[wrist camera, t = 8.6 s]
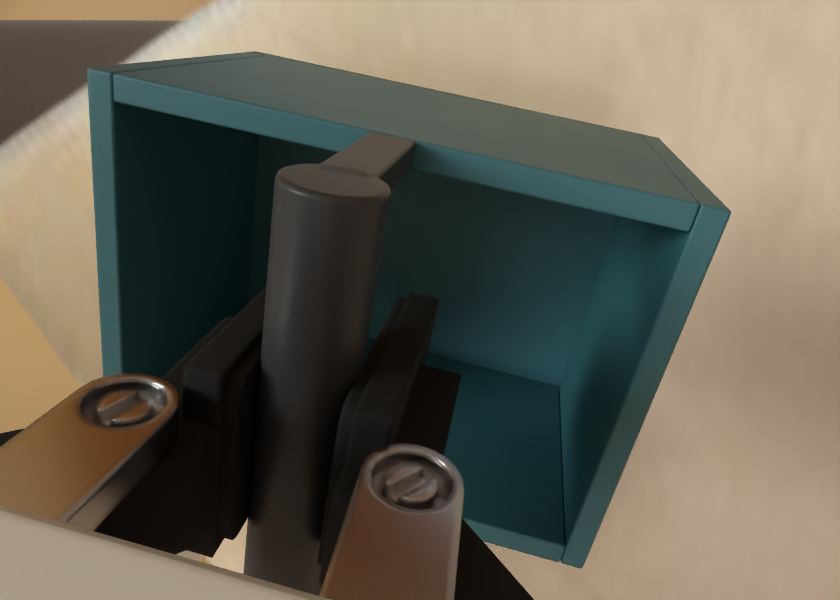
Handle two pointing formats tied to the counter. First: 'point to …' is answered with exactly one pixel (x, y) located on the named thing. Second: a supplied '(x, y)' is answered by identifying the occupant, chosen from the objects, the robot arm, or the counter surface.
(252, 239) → the top bin
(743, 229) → the counter surface
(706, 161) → the counter surface
